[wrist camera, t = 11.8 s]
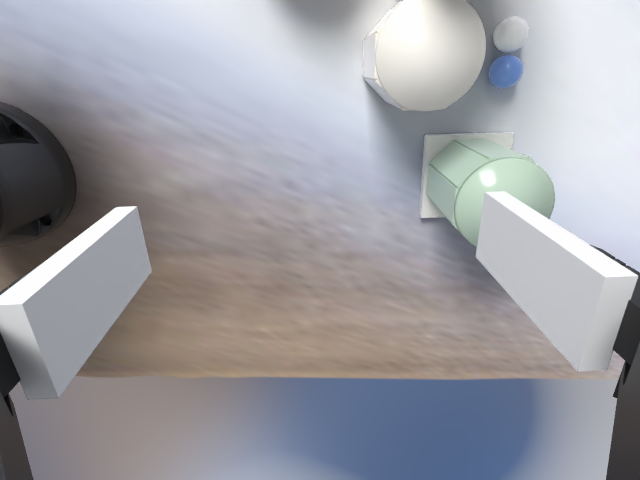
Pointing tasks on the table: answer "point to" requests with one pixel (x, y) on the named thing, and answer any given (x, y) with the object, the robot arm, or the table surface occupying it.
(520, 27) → the marble
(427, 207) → the coaster
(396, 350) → the table surface
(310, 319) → the table surface
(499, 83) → the marble
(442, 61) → the cream cup
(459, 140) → the sage green dome
